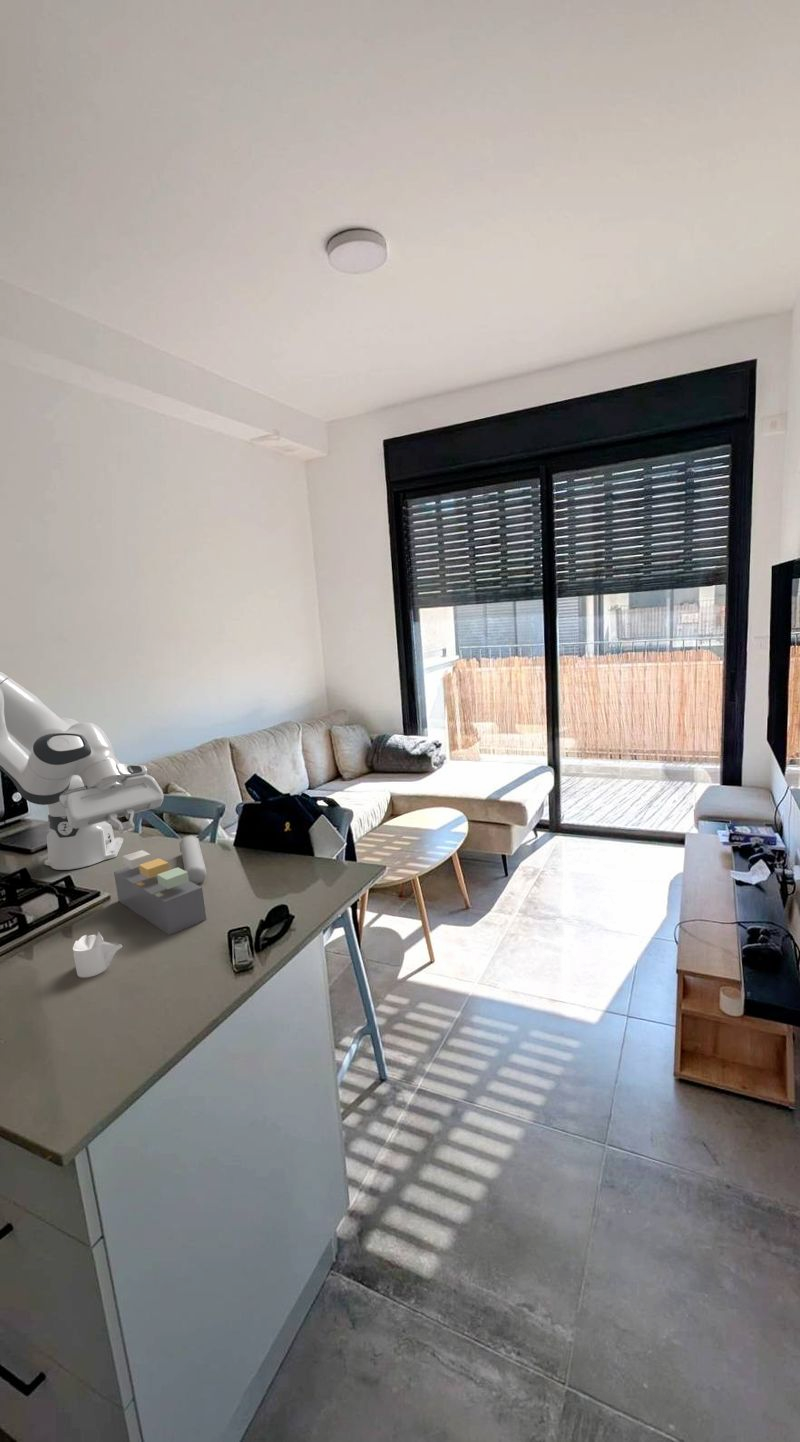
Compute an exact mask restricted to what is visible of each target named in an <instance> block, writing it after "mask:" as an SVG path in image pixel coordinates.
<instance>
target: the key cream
mask: <svg viewBox="0 0 800 1442" xmlns="http://www.w3.org/2000/svg"><path fill="white" fill-rule="evenodd" d="M149 861H152V856H151V853H149V852H147V851H146V850H143V849H141V850H137V851H135V852H132V853H129V854H125V855H122V863H123V865H124V866H126V868H127V867H129V868H131V869H133V868H137V867H139V865H140V864H143V863H146V862H149Z"/></svg>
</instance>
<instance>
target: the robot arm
mask: <svg viewBox="0 0 800 1442" xmlns="http://www.w3.org/2000/svg"><path fill="white" fill-rule="evenodd" d="M11 736H12V737H13V738H14V739H13V738H12V737H11ZM14 740H16V741H17V742H18V743H20V745H22V746H23V747H24V748H25V749H27V750H28V751H29V754H28V753H26V751H25V750H24V749H22V747H20V746H19V745H18V743H16V742H15V741H14ZM0 770H1V771H2V773H4V775H6V776H7V777H8V778H9V779H10V780H11V781H12V783H13V784H14V786H15V787H16V790H17V791H18V793H19V795H20V796H21V797H22V798H23V799H24V800H26V801H27V802H29V803H31V804H34V805H40V806H47V808H48V813H49V814H48V815H47V818H48V819H47V821H48V825H49V828H50V831H49V832H48V833H47V834H46V845H47V856H48V858H47V859H45V860H44V865H45V866H48V867H49V866H50V867H51V869H54V870H58V871H65V870H67V871H68V870H75V869H81V868H85V867H88V866H89V867H90V866H93V865H95V864H98V863H100V862H102V861H106V860H109V859H113V858H116V857H117V856H118V854H119V852H120V850H121V848H122V845H123V843H124V838H123V837H119V836H118V837H116V836H115V835H114V830H113V827H115V828H116V829H118V832H119V834H124V833H128V832H131V831H135V829H136V826H135V823H134V815H135V814H137V813H142V812H146V811H150V810H153V809H157V808H160V807H161V805H162V804H163V802H164V798H165V796H164V792H163V790H162V788H161V787H160V786H159V783H158V782H157V780H156V779H155V778H154V777H153V776H151V775H149V774H148V769H147V767H146V765H143V764H142V765H141V764H126V763H121V762H120V761H119V759H118V758H117V757H116V752H115V749H114V746H113V744H112V743H111V741H110V739H109V737H108V736H107V734H106V732H104V730H103V729H102V728H101V727H100V726H99V725H97V724H96V723H93V722H88V721H87V722H86V721H83V722H79V721H78V720H76V719H74V718H70V717H59V716H58V715H57V714H56V713H55V712H54V711H53V710H51V709H50V708H49V707H48V706H46V704H44V703H43V702H42V701H41V699H39V697H38V696H36V695H35V694H34V693H32V692H31V691H29V690H28V689H27V688H25V687H23V686H22V685H21V684H20V683H18V682H16V681H15V680H14V679H12V678H11V677H10V676H8V675H7V674H6V673H3V672H2V671H0ZM122 817H125V819H126V820H128V819H129V820H128V821H123V822H122V821H120V819H119V818H122Z"/></svg>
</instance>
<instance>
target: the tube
mask: <svg viewBox="0 0 800 1442" xmlns="http://www.w3.org/2000/svg"><path fill="white" fill-rule="evenodd" d="M179 849H180V853H181V857H182V862H183V868H184V869H183V870H184V871H187V872H188V877H189V881H190V882H192V883H194V884H196V885H198V884H201V883H202V884H203V882H205V880H206V877H208V876H207V868H206V865H205V861H204V857H203V854H202V849H201V845H200V838H198V837H196V836H195V835H187V836H183V837H182V839H181V840H180V842H179Z"/></svg>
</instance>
